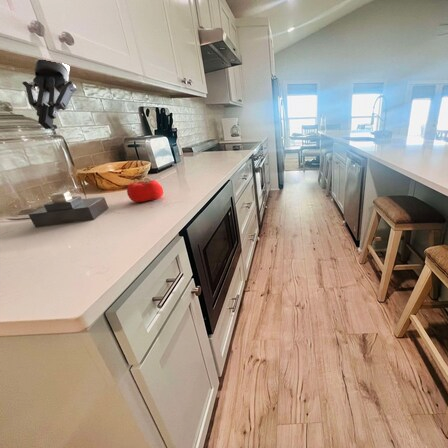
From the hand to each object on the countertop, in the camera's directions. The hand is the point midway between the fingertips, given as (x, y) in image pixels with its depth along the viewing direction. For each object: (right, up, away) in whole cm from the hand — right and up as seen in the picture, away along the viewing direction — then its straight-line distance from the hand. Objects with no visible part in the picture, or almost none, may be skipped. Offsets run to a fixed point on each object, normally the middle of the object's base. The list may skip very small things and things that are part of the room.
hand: (45, 125), depth 70 cm
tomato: (+20, -20, +17) cm, 33 cm away
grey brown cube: (+6, -22, -1) cm, 23 cm away
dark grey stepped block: (+6, -27, +3) cm, 28 cm away
